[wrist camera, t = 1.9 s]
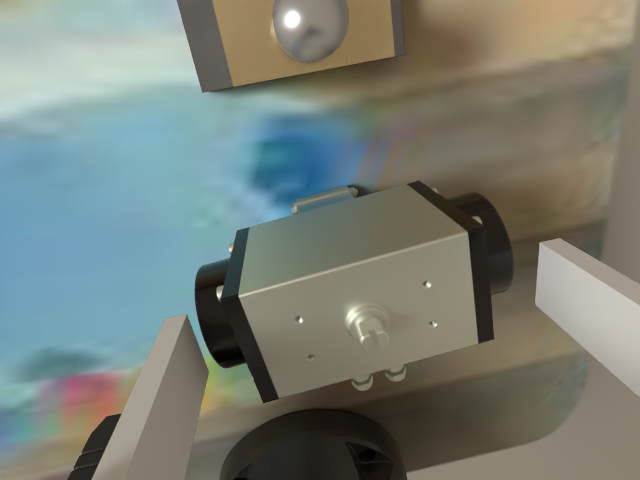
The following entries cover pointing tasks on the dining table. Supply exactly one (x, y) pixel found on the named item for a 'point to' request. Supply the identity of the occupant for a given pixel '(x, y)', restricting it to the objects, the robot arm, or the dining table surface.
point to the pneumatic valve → (354, 287)
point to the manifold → (286, 37)
